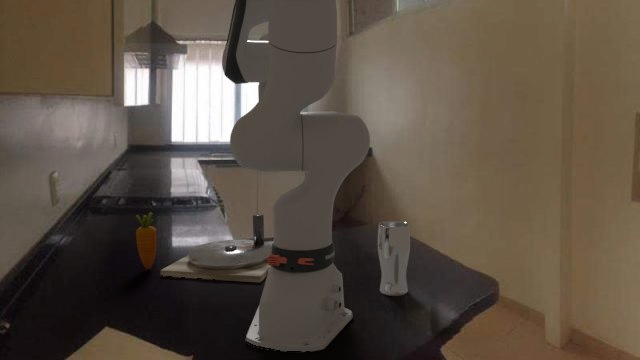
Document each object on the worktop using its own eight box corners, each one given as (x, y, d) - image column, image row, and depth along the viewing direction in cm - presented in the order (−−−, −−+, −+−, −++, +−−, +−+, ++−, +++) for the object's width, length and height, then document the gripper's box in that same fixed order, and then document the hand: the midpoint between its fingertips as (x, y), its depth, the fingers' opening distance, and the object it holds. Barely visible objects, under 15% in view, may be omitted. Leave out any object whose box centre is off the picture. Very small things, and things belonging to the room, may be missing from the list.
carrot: (134, 272, 120) (130, 214, 118) (146, 266, 124) (143, 210, 123) (150, 273, 118) (146, 215, 116) (162, 267, 123) (159, 211, 121)
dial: (288, 257, 124) (287, 220, 123) (214, 275, 110) (212, 233, 109) (244, 242, 141) (242, 209, 140) (174, 256, 126) (172, 220, 125)
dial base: (260, 282, 110) (260, 275, 110) (160, 276, 116) (160, 269, 116) (291, 252, 135) (291, 246, 135) (208, 248, 141) (208, 243, 141)
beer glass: (409, 297, 99) (410, 228, 97) (376, 295, 100) (376, 227, 99) (410, 286, 106) (410, 221, 104) (378, 284, 107) (378, 220, 105)
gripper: (295, 95, 112) (296, 153, 114) (281, 102, 132) (282, 151, 133) (268, 95, 111) (270, 153, 112) (259, 102, 131) (260, 152, 132)
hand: (277, 152), depth 123 cm, fingers open, 8 cm apart
